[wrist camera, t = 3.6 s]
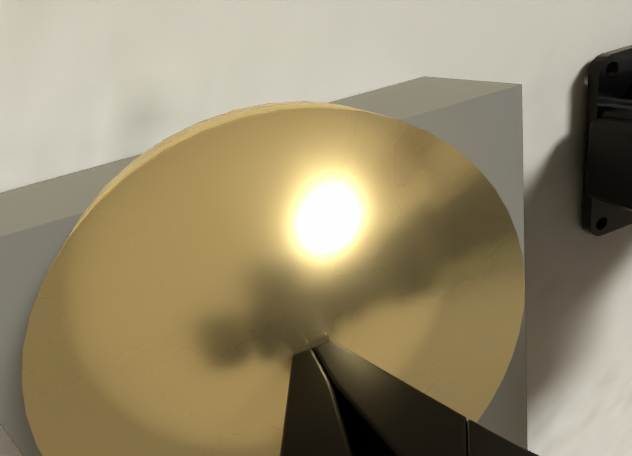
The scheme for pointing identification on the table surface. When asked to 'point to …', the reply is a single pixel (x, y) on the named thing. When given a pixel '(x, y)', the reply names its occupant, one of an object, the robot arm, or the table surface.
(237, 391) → the knob
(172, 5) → the table surface
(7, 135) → the table surface
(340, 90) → the table surface
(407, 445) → the robot arm
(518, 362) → the panel
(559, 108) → the table surface
